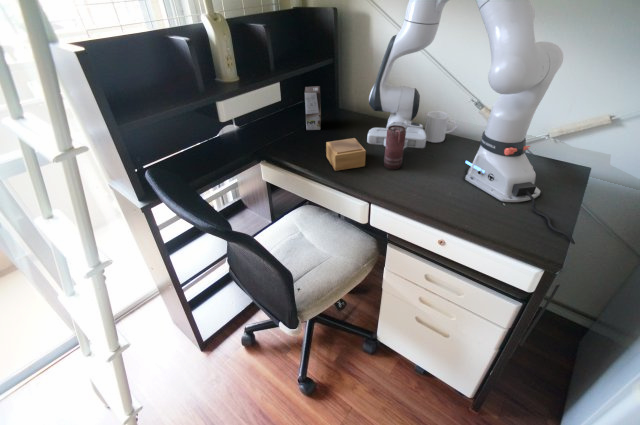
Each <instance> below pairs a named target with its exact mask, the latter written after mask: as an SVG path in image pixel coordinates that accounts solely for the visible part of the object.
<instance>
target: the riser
mask: <svg viewBox="0 0 640 425" xmlns="http://www.w3.org/2000/svg"><path fill="white" fill-rule="evenodd" d="M325 147H326V148H325V152H326V154H325V155H326V158H327V160H328V162H329V164H330V165H331V166H332V168H333V170H334V171H335V172H338V171H345V170H348V169H356V168H361V167H365V166H366V157H367V156H366V154H367V150H366V149H365V148H364V147H363V146H362V144H360V142H359V141H358V140H357V139H356V138H355V137H353V138H345V139H339V140H333V141H332V140H331V141H326V142H325Z"/></svg>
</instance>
